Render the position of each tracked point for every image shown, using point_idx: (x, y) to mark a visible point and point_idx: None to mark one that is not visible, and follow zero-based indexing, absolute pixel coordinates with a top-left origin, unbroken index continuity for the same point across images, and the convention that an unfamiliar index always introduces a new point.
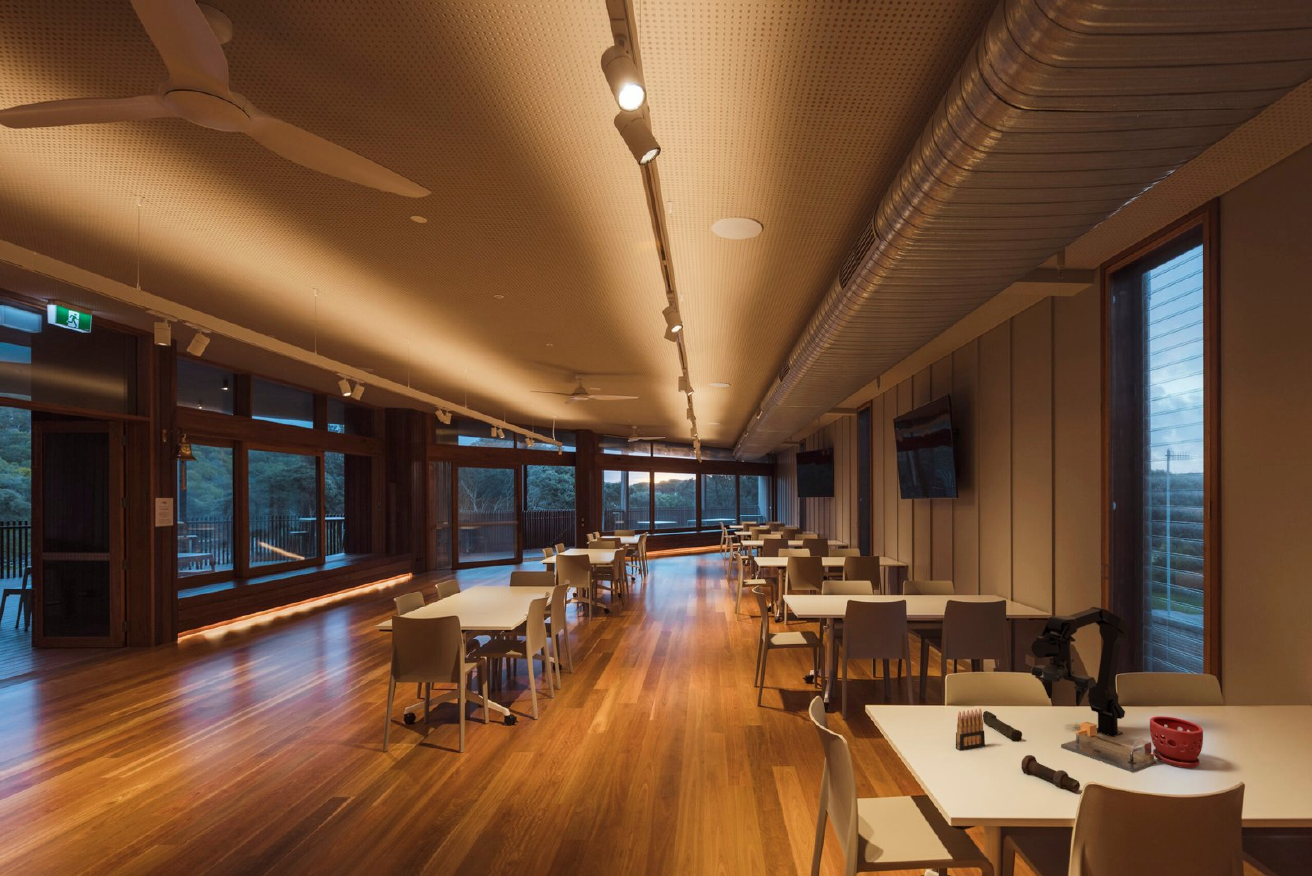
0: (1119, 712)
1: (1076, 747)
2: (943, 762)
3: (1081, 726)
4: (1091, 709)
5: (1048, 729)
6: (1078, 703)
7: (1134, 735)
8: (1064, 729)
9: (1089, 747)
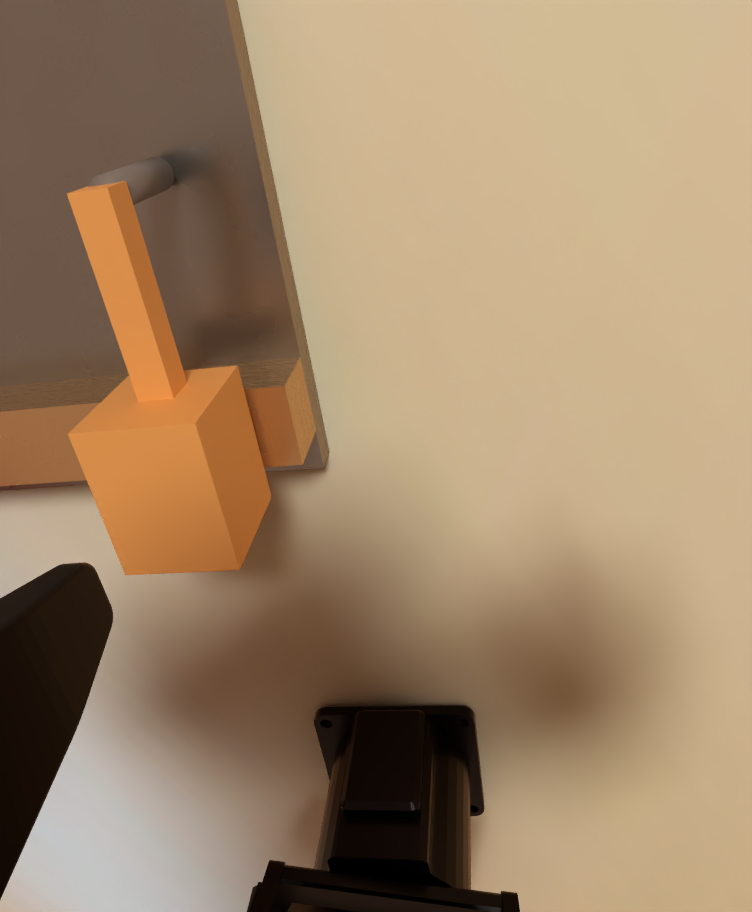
0: None
1: (76, 45)
2: None
3: (194, 409)
4: (515, 904)
5: (720, 392)
6: (2, 609)
7: (301, 830)
8: (623, 541)
9: (62, 223)
